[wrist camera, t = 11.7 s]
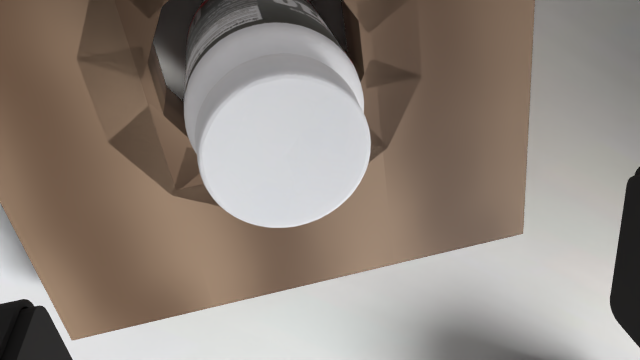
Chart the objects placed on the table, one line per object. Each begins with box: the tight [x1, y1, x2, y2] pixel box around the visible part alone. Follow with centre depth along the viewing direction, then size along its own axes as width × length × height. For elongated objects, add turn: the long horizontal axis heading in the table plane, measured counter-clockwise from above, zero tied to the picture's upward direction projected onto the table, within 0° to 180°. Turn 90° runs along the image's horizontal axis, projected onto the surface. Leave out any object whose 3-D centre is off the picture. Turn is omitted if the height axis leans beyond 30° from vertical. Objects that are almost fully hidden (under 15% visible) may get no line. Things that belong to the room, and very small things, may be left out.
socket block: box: [0, 0, 535, 340], centre depth 19 cm, size 18×18×2 cm
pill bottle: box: [184, 0, 371, 228], centre depth 17 cm, size 5×5×8 cm
